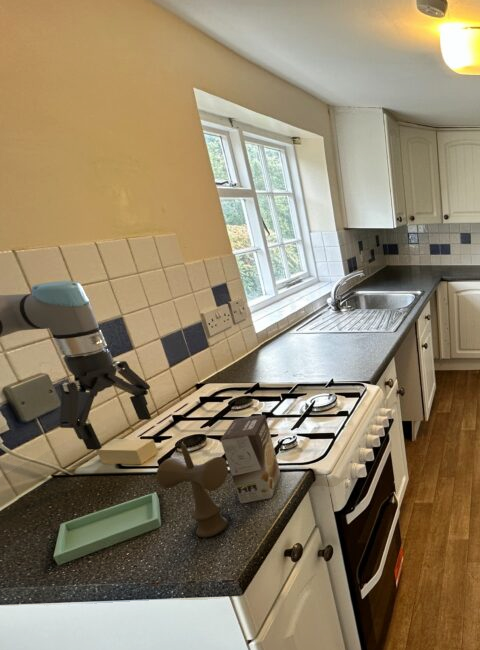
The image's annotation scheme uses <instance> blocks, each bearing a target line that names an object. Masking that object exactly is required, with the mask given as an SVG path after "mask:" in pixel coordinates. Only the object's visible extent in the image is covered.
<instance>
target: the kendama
mask: <svg viewBox="0 0 480 650" xmlns="http://www.w3.org/2000/svg"><path fill="white" fill-rule="evenodd" d="M180 449H181V453H182V457H183V459H181V458H180V457H179V456H171V457H168V458H167V459H164V460H163V461H162V462H161V463H160V464H159V466H158V468H157V470H156V481H157V483H158V485H159V486H160V487H161V488H163V489H171V488H174V487H176V486H177V485H179V484H181V483H187V482H190V483H191V487H192V488H191V489H192V491H193V492H192V493H193V497H194V511H193V512H192V514H191V517H192V519H193V520H195V521H196V522H197V525H198V526H197V528H196V531H195V535H196V536H197V537H198V538H211V537H214V536H216V535H219V534H220V533H222V532H223V531H224V530H225V529H226V528H227V526H228V525H229V520H228V519H227V518H226V517H225V516H222V514H221V512H220V511H221V509H222V505H221V504H220V503H216V502H214V500H213V499H212V497H211V496H210V495H209V493H208V491H209V492H212V491H216V490H218V489H219V488H221V487H222V485H223V484H224V483H225V482H226V480H227V477H228V473H229V466H228V462H227V460H226V459H225V458H224V457H222V456H214V457H212V458H210V459H209V460H206V461H205V462H204V463H200V464H198V463H197V464H195V463H194V462H193V460H192V457H191V454H190V452H189V450H188V448H187V445H186V444H185V443H183V442H182V443H180Z"/></svg>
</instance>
